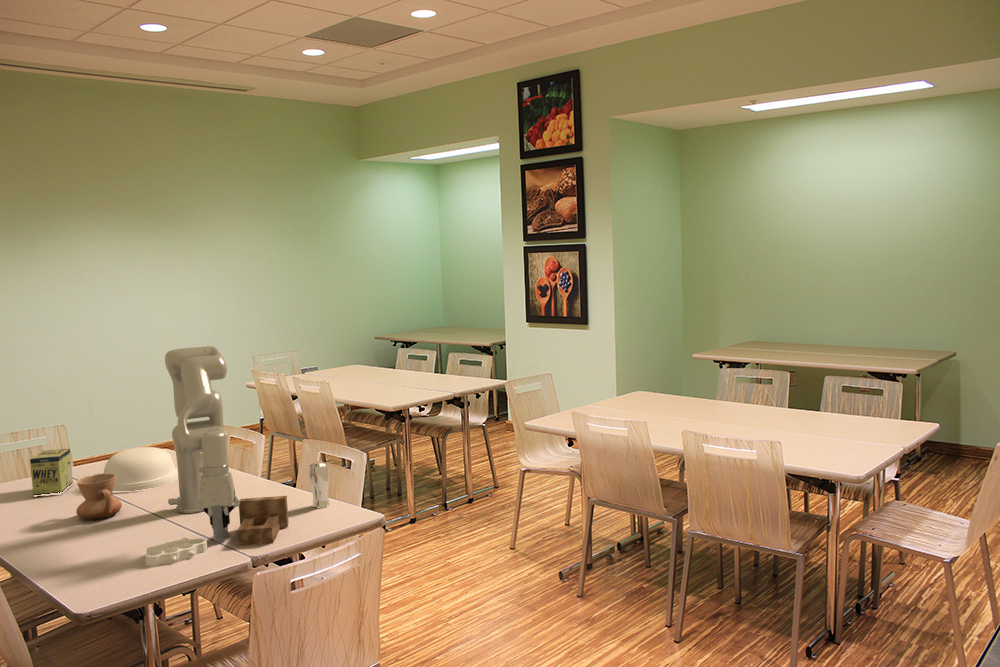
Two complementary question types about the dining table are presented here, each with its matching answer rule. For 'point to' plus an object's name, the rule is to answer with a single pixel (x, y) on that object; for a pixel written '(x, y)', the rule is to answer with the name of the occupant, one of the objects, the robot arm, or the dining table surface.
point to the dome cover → (141, 469)
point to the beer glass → (319, 483)
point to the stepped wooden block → (261, 519)
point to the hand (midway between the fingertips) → (220, 526)
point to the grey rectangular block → (219, 524)
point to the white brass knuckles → (175, 551)
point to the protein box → (51, 471)
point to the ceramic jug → (98, 497)
